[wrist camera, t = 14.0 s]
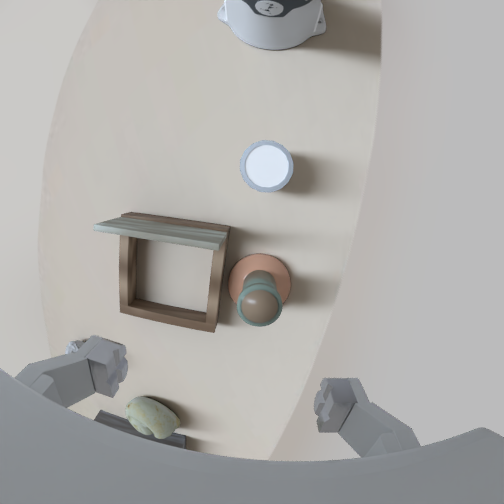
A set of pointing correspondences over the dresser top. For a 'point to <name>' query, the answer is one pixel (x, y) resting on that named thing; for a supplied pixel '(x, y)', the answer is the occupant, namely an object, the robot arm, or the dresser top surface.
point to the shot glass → (266, 166)
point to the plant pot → (259, 299)
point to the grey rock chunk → (73, 346)
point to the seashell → (151, 417)
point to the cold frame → (175, 233)
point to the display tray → (127, 427)
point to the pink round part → (259, 263)
